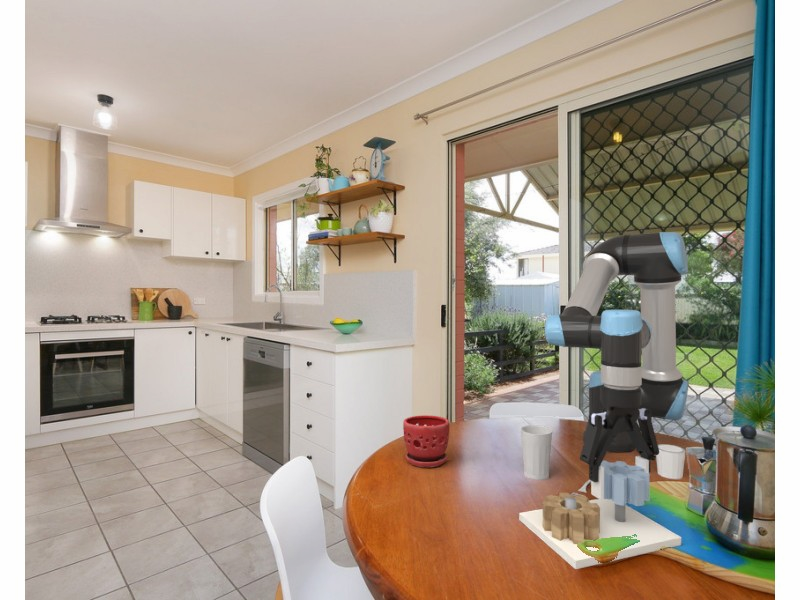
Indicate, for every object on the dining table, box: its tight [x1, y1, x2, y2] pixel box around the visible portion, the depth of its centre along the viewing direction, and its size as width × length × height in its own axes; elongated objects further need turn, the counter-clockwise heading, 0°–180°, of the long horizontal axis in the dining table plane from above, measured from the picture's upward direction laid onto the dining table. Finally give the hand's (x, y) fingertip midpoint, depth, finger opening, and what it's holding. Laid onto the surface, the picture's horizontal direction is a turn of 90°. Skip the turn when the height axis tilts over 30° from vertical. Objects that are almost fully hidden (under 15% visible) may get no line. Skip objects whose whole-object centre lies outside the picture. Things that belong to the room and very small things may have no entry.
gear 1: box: [542, 492, 600, 544], centre depth 91 cm, size 10×10×5 cm
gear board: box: [518, 497, 682, 570], centre depth 93 cm, size 24×18×8 cm
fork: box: [569, 478, 591, 497], centre depth 115 cm, size 3×24×2 cm, turn 142°
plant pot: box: [402, 414, 450, 469], centre depth 131 cm, size 13×13×12 cm
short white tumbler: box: [655, 443, 686, 480], centre depth 120 cm, size 7×7×7 cm
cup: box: [520, 424, 553, 481], centre depth 121 cm, size 8×8×12 cm
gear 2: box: [601, 459, 650, 507], centre depth 94 cm, size 10×10×5 cm
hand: (620, 492), depth 94 cm, fingers closed on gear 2, 10 cm apart
